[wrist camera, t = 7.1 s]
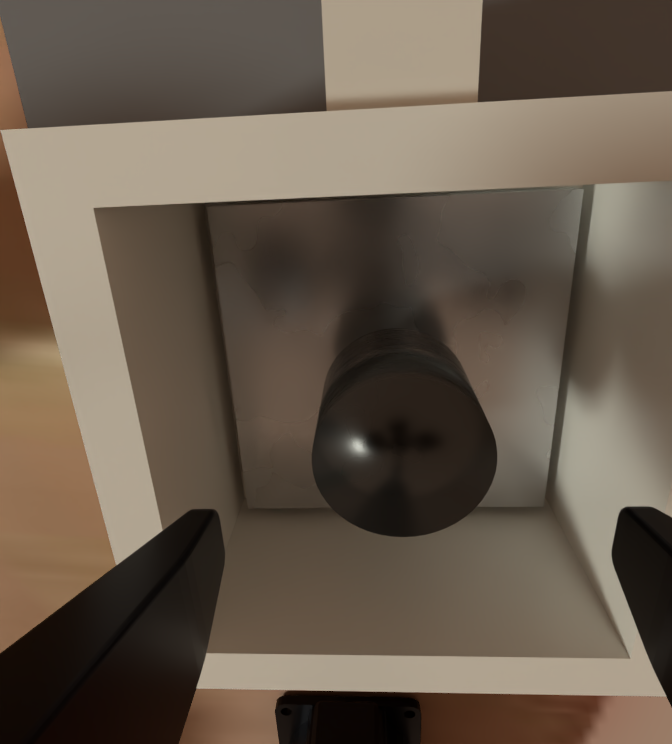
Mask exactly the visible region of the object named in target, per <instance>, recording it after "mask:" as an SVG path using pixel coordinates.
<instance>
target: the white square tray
mask: <svg viewBox="0 0 672 744" xmlns="http://www.w3.org/2000/svg"><path fill="white" fill-rule="evenodd" d="M482 3H483V0H321V5H322V26H323V46H324V66H325V87H326V107H327V111H321V112H304V113H287V114H269V115H252V116H235V117H218V118H201V119H183V120H166V121H149V122H132V123H114V124H97V125H80V126H63V127H46V128H28V129H11V130H1V134H2V138H3V141H4V145H5V149H6V153H7V156H8V160H9V164H10V168H11V172H12V175H13V179H14V183H15V187H16V190H17V194H18V198H19V202H20V205H21V209H22V213H23V217H24V220H25V224H26V228H27V232H28V235H29V239H30V243H31V247H32V250H33V254H34V258H35V262H36V265H37V269H38V273H39V277H40V281H41V284H42V288H43V292H44V296H45V299H46V303H47V307H48V311H49V314H50V318H51V322H52V326H53V329H54V333H55V337H56V341H57V344H58V348H59V352H60V356H61V359H62V363H63V367H64V371H65V375H66V378H67V382H68V386H69V390H70V393H71V397H72V401H73V405H74V408H75V412H76V416H77V420H78V423H79V427H80V431H81V435H82V438H83V442H84V446H85V450H86V453H87V457H88V461H89V465H90V469H91V472H92V476H93V480H94V484H95V487H96V491H97V495H98V499H99V502H100V506H101V510H102V514H103V517H104V521H105V525H106V529H107V532H108V536H109V540H110V544H111V547H112V551H113V555H114V559H115V563H116V565H118V564H119V563H120V562H122V561H123V560H124V559H126V558H127V557H128V556H130V555H131V554H132V553H133V552H135V551H136V550H137V549H139V548H140V547H141V546H143V545H144V544H145V543H147V542H148V541H149V540H151V539H152V538H153V537H155V536H156V535H157V534H159V533H160V532H161V531H163V530H164V529H165V528H166V527H168V526H169V525H170V524H172V523H173V522H174V521H176V520H177V519H178V518H180V517H181V516H182V515H184V514H185V513H186V512H188V511H189V510H191V509H215V510H216V511H217V512H218V514H219V517H220V523H221V529H222V535H223V541H224V547H225V565H224V570H223V575H222V580H221V585H220V590H219V594H218V599H217V604H216V609H215V614H214V619H213V624H212V629H211V634H210V639H209V643H208V648H207V652H206V657H205V661H204V664H203V668H202V671H201V675H200V678H199V681H198V684H197V687H196V688H197V689H254V690H311V691H368V692H425V693H482V694H539V695H596V696H655V697H656V696H657V697H667V696H666V694H665V692H664V690H663V688H662V686H661V684H660V682H659V680H658V678H657V676H656V674H655V672H654V670H653V667H652V665H651V663H650V660H649V658H648V655H647V653H646V651H645V648H644V645H643V643H642V640H641V638H640V635H639V632H638V630H637V627H636V624H635V622H634V619H633V616H632V614H631V611H630V609H629V606H628V603H627V601H626V598H625V595H624V593H623V590H622V587H621V585H620V582H619V580H618V577H617V574H616V572H615V569H614V566H613V562H612V556H611V551H612V545H613V540H614V534H615V529H616V524H617V519H618V515H619V512H620V511H621V509H622V508H624V507H627V506H650V507H654V508H656V509H658V510H659V511H661V512H663V513H665V514H667V515H668V516H670V517H672V91H665V92H648V93H631V94H614V95H597V96H579V97H562V98H545V99H528V100H510V101H493V102H478V83H479V63H480V43H481V23H482ZM571 187H572V188H579V189H584V192H583V200H582V208H581V216H580V224H579V232H578V240H577V247H576V255H575V263H574V271H573V279H572V287H571V295H570V303H569V311H568V319H567V327H566V335H565V343H564V351H563V358H562V366H561V374H560V382H559V390H558V398H557V406H556V414H555V422H554V430H553V438H552V446H551V454H550V462H549V470H548V477H547V485H546V493H545V501H544V507H476V508H475V509H474V510H473V511H472V512H470V513H469V514H468V515H467V516H466V517H464V518H463V519H461V520H460V521H459V522H457V523H455V524H453V525H451V526H449V527H448V528H445V529H442V530H440V531H437V532H434V533H430V534H427V535H421V536H415V537H391V536H385V535H379V534H376V533H372V532H369V531H366V530H364V529H361V528H359V527H357V526H355V525H353V524H351V523H349V522H348V521H347V520H345V519H344V518H342V517H341V516H340V515H339V514H337V513H336V512H335V511H334V510H333V509H332V508H258V509H248V505H247V498H246V491H245V483H244V476H243V469H242V461H241V454H240V447H239V439H238V432H237V425H236V417H235V410H234V402H233V395H232V388H231V380H230V373H229V366H228V358H227V351H226V344H225V336H224V329H223V322H222V314H221V307H220V299H219V292H218V285H217V277H216V270H215V263H214V255H213V248H212V241H211V233H210V226H209V219H208V211H207V206H211V205H214V204H228V203H249V202H270V201H292V200H313V199H335V198H356V197H378V196H399V195H421V194H442V193H463V192H485V191H506V190H528V189H549V188H571Z"/></svg>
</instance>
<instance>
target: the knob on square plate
mask: <svg viewBox="0 0 672 744" xmlns="http://www.w3.org/2000/svg"><path fill="white" fill-rule="evenodd" d="M583 192H584V189H579V188H572V187H571V188H549V189H528V190H506V191H485V192H463V193H442V194H421V195H399V196H378V197H356V198H335V199H313V200H292V201H270V202H249V203H228V204H214V205H211V206H207V211H208V219H209V226H210V233H211V241H212V248H213V255H214V263H215V270H216V277H217V285H218V292H219V299H220V307H221V314H222V322H223V329H224V336H225V344H226V351H227V358H228V366H229V373H230V380H231V388H232V395H233V402H234V410H235V417H236V425H237V432H238V439H239V447H240V454H241V461H242V469H243V476H244V483H245V491H246V498H247V505H248V509H258V508H332V509H333V510H334V511H335V512H336V513H337V514H339V515H340V516H341V517H342V518H344V519H345V520H347V521H348V522H349V523H351V524H353V525H355V526H357V527H359V528H361V529H364V530H366V531H369V532H372V533H376V534H379V535H385V536H391V537H415V536H421V535H427V534H430V533H434V532H437V531H440V530H442V529H445V528H448V527H449V526H451V525H453V524H455V523H457V522H459V521H460V520H461V519H463V518H464V517H466V516H467V515H468V514H469V513H470V512H472V511H473V510H474V509H475V508H476V507H544V501H545V493H546V485H547V477H548V470H549V462H550V454H551V446H552V438H553V430H554V422H555V414H556V406H557V398H558V390H559V382H560V374H561V366H562V358H563V351H564V343H565V335H566V327H567V319H568V311H569V303H570V295H571V287H572V279H573V271H574V263H575V255H576V247H577V240H578V232H579V224H580V216H581V208H582V200H583Z"/></svg>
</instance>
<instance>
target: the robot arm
mask: <svg viewBox="0 0 672 744" xmlns="http://www.w3.org/2000/svg"><path fill="white" fill-rule="evenodd" d="M611 556H612V562H613V566H614V569H615V572H616V574H617V577H618V580H619V582H620V585H621V587H622V590H623V593H624V595H625V598H626V601H627V603H628V606H629V609H630V611H631V614H632V616H633V619H634V622H635V624H636V627H637V630H638V632H639V635H640V638H641V640H642V643H643V645H644V648H645V651H646V653H647V655H648V658H649V660H650V663H651V665H652V667H653V670H654V672H655V674H656V676H657V678H658V680H659V682H660V684H661V686H662V688H663V690H664V692H665V694H666V696H667V698H668V700H669V702H670V704H671V706H672V517H670V516H668V515H667V514H665V513H663V512H661V511H659V510H658V509H656V508H654V507H650V506H627V507H624V508H622V509H621V511H620V512H619V515H618V519H617V524H616V529H615V534H614V540H613V545H612V551H611ZM224 565H225V547H224V541H223V535H222V529H221V523H220V517H219V514H218V512H217V511H216V510H215V509H191V510H189V511H188V512H186V513H185V514H184V515H182V516H181V517H180V518H178V519H177V520H176V521H174V522H173V523H172V524H170V525H169V526H168V527H166V528H165V529H164V530H163V531H161V532H160V533H159V534H157V535H156V536H155V537H153V538H152V539H151V540H149V541H148V542H147V543H145V544H144V545H143V546H141V547H140V548H139V549H137V550H136V551H135V552H133V553H132V554H131V555H130V556H128V557H127V558H126V559H124V560H123V561H122V562H120V563H119V564H118V565H116V566H115V567H114V568H112V569H111V570H110V571H108V572H107V573H106V574H104V575H103V576H102V577H100V578H99V579H98V580H96V581H95V582H94V583H93V584H91V585H90V586H89V587H87V588H86V589H85V590H83V591H82V592H81V593H79V594H78V595H77V596H75V597H74V598H73V599H71V600H70V601H69V602H67V603H66V604H65V605H63V606H62V607H61V608H60V609H58V610H57V611H56V612H54V613H53V614H52V615H50V616H49V617H48V618H46V619H45V620H44V621H42V622H41V623H40V624H38V625H37V626H36V627H34V628H33V629H32V630H30V631H29V632H28V633H27V634H25V635H24V636H23V637H21V638H20V639H19V640H17V641H16V642H15V643H13V644H12V645H11V646H9V647H8V648H7V649H5V650H4V651H3V652H1V653H0V744H179V741H180V738H181V734H182V731H183V728H184V725H185V722H186V719H187V716H188V712H189V709H190V706H191V703H192V700H193V697H194V694H195V691H196V687H197V684H198V681H199V678H200V675H201V671H202V668H203V664H204V661H205V657H206V652H207V648H208V643H209V639H210V634H211V629H212V624H213V619H214V614H215V609H216V604H217V599H218V594H219V590H220V585H221V580H222V575H223V570H224ZM275 715H276V722H277V730H278V737H279V744H420V735H421V710H420V704H419V702H418V701H417V700H415V699H413V698H387V697H332V696H282V697H279V698H278V699H277V703H276V709H275Z"/></svg>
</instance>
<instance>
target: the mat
mask: <svg viewBox="0 0 672 744" xmlns="http://www.w3.org/2000/svg"><path fill="white" fill-rule="evenodd" d="M0 17H1V21H2V25H3V29H4V33H5V37H6V41H7V45H8V49H9V53H10V57H11V61H12V65H13V69H14V73H15V77H16V82H17V86H18V90H19V94H20V98H21V102H22V106H23V110H24V114H25V118H26V122H27V126H28V128H46V127H63V126H80V125H97V124H114V123H132V122H149V121H166V120H183V119H201V118H218V117H235V116H252V115H269V114H287V113H304V112H321V111H327V107H326V87H325V66H324V46H323V26H322V5H321V0H0ZM665 91H672V0H483V3H482V23H481V43H480V63H479V83H478V102H493V101H510V100H528V99H545V98H562V97H579V96H597V95H614V94H631V93H648V92H665Z"/></svg>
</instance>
